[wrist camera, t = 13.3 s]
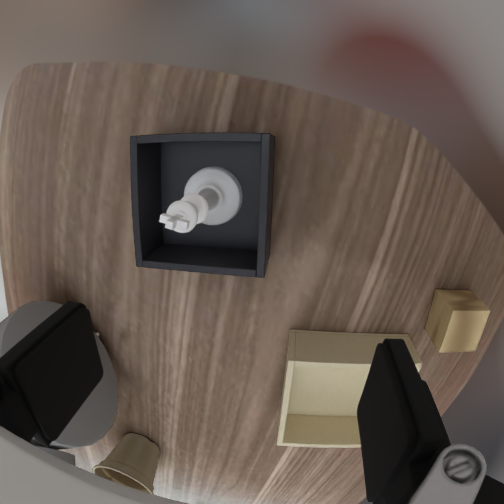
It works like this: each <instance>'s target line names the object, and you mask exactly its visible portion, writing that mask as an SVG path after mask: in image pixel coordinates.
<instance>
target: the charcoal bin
mask: <svg viewBox="0 0 504 504" xmlns="http://www.w3.org/2000/svg"><path fill="white" fill-rule="evenodd" d="M274 149H275V136H273V135H271V134H269V133H262V134H261V133H176V134H155V135H140V136H131V137H130V166H131V198H132V217H133V232H134V244H135V256H136V266H137V267H146V268H157V269H167V270H178V271H188V272H200V273H211V274H222V275H234V276H247V277H259V278H264V277H265V273H266V269H267V264H268V260H269V256H270V241H271V220H272V198H273V175H274ZM206 167H221V168H224V169H226V170H228V171H229V172H231V173H232V174H233V175H234V176H235V177H236V178H237V180H238V181H239V183H240V186H241V189H242V195H243V198H242V204H241V207H240V209H239V211H238V213H237V214H236V215H235V216H234V217H233V218H232V219H231V220H229V221H228V222H225V223H223V224H220V225H206V224H203V223H199V224H196V226H195V227H194V228H193V229H192V230H191V231H189V232H186V233H179V232H176V231H174V230H170V229H167V228H165V224H164V223H161V222H159V220H160V215H161V214H163V213H165V214H166V212H167V209H168V207H169V206H170V205H171V204H172V203H173V202H175V201H179V200H181V199H182V198H183V197H184V190H185V186H186V184H187V182H188V180H189V179H190V178H191V177H192V175H194V174H195V173H196V172H197V171H199V170H200V169H203V168H206Z"/></svg>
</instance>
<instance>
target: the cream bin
mask: <svg viewBox="0 0 504 504" xmlns="http://www.w3.org/2000/svg"><path fill="white" fill-rule="evenodd" d="M386 338H389V339H403V340H404V341H405V343H406V345H407V348H408V350H409V352H410V354H411V357H412V359H413V361H414V363H415V366H416V368H417V370H418V373H419V371H420V369H421V366H422V362H421V359H420V357H419V355H418V353H417V351H416V349H415V347H414V345H413V343H412V341H411V339H410V337H409V335H408V334H374V333H346V332H326V331H309V330H294V329H290V330H289V340H288V349H287V358H286V367H285V375H284V383H283V392H282V399H281V407H280V415H279V425H278V435H277V445H282V446H296V447H323V448H353V447H361V442H360V434H359V427H358V420H357V407H358V404H359V401H360V398H361V395H362V392H363V389H364V386H365V383H366V380H367V376H368V373H369V370H370V367H371V364H372V360H373V357H374V353H375V350H376V347H377V344H378V343H383V341H384V339H386Z"/></svg>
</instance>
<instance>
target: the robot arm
mask: <svg viewBox="0 0 504 504" xmlns="http://www.w3.org/2000/svg"><path fill="white" fill-rule="evenodd" d="M103 373H104V371H103V366H102V363H101V359H100V355H99V351H98V347H97V343H96V339H95V335H94V331H93V326H92V322H91V317H90V313H89V311H88V309H86V306H85V305H84V304H82V303H77V302H72V301H68V302H67V303H65V304H64V305H63V306H62V307H60V308H59V309H58V310H57V311H55V312H54V313H53V314H52V315H50V316H49V317H48V318H47V319H45V320H44V321H43V322H42V323H41V324H39V325H38V326H37V327H36V328H34V329H33V330H32V331H31V332H30V333H28V334H27V335H26V336H25V337H24V338H23V339H21V340H20V341H19V342H18V343H17V344H15V345H14V346H13V347H12V348H11V349H10V350H9V351H7V352H6V353H5V354H4V355H3V356H2V357H1V358H0V504H187V503H183V502H179V501H175V500H171V499H167V498H163V497H160V496H156V495H153V494H149V493H146V492H143V491H140V490H136V489H133V488H130V487H127V486H124V485H122V484H119V483H116V482H113V481H111V480H108V479H105V478H103V477H100V476H98V475H95V474H93V473H90V472H88V471H86V470H83V469H81V468H79V467H76V466H74V465H72V464H70V463H68V462H66V461H63V460H61V459H59V458H57V457H55V456H53V455H51V454H49V453H47V452H45V451H43V450H41V449H40V448H38V447H36V446H34V445H32V442H31V440H32V438H33V437H34V438H35V440H36V441H37V442H39V443H40V444H42V445H44V446H46V447H48V446H49V445H50V444H51V442H52V441H55V440H57V438H58V437H59V436H60V434H61V433H62V432H63V430H64V429H65V427H66V426H67V425H68V423H69V422H70V421H71V419H72V418H73V417H74V415H75V414H76V413H77V411H78V410H79V409H80V407H81V406H82V404H83V403H84V402H85V400H86V399H87V398H88V397H89V395H90V394H91V393H92V391H93V390H94V389H95V387H96V386H97V385H98V383H99V382H100V381H101V379H102V377H103ZM357 420H358V427H359V434H360V442H361V450H362V458H363V466H364V475H365V485H366V495H367V500H368V502H373V504H504V484H503V483H501V482H499V481H497V480H495V479H493V478H491V477H489V476H487V475H485V474H486V469H487V467H486V461H485V459H484V457H483V455H482V454H481V453H480V452H479V451H478V450H477V449H475V448H474V447H472V446H469V445H466V444H454V445H451V444H450V441H449V438H448V435H447V433H446V430H445V428H444V425H443V422H442V419H441V417H440V414H439V412H438V409H437V407H436V404H435V402H434V399H433V397H432V395H431V392H430V390H429V387H428V385H427V384H426V382H425V381H423V380H421V377H420V375H419V373H418V370H417V368H416V366H415V363H414V361H413V359H412V357H411V354H410V352H409V350H408V348H407V345H406V343H405V341H404V340H403V339H389V338H386V339H384V341H383V343H378V344H377V347H376V350H375V353H374V357H373V360H372V364H371V367H370V370H369V373H368V376H367V380H366V383H365V386H364V389H363V392H362V395H361V398H360V401H359V404H358V407H357Z"/></svg>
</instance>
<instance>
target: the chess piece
mask: <svg viewBox="0 0 504 504" xmlns="http://www.w3.org/2000/svg"><path fill="white" fill-rule="evenodd" d="M242 198H243V195H242V189H241V186H240V183H239V181H238V180H237V178H236V177H235V176H234V175H233V174H232V173H231V172H229V171H228V170H226V169H224V168H221V167H206V168H203V169H200V170H199V171H197V172H196V173H195V174H194V175H192V177H191V178H190V179H189V180H188V182H187V184H186V186H185V190H184V197H183V198H182V199H181V200H179V201H175V202H173V203H172V204H171V205H170V206H169V207H168V209H167V212H166V214H165V213H163V214H161V215H160V220H159V222H161V223H164V224H165V228H167V229H170V230H174V231H176V232H179V233H186V232H189V231H191V230H192V229H193V228H194V227H195V226H196V224H199V223H203V224H206V225H220V224H223V223H225V222H228V221H229V220H231V219H232V218H233V217H234V216H235V215H236V214H237V213H238V211H239V209H240V207H241V204H242Z"/></svg>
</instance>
